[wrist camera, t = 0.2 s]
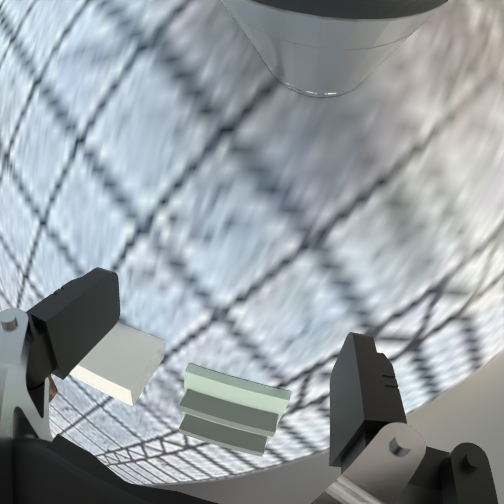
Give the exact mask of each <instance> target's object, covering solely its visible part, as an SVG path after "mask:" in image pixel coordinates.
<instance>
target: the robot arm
mask: <svg viewBox="0 0 504 504" xmlns="http://www.w3.org/2000/svg"><path fill="white" fill-rule="evenodd" d="M447 1H448V0H221V2H222V3H223V4H224V5H225V7H226V8H227V9H228V11H229V12H230V13H231V15H232V16H233V17H234V19H235V20H236V21H237V23H238V24H239V25H240V27H241V28H242V30H243V31H244V32H245V34H246V35H247V37H248V38H249V40H250V41H251V42H252V44H253V45H254V47H255V48H256V50H257V51H258V53H259V54H260V56H261V57H262V59H263V60H264V62H265V63H266V65H267V66H268V68H269V70H270V71H271V72H272V73H273V75H274V76H275V77H276V78H277V79H278V80H279V81H280V82H281V83H283V84H284V85H285V86H286V87H288V88H290V89H292V90H294V91H296V92H298V93H301V94H304V95H307V96H313V97H334V96H338V95H342V94H345V93H347V92H349V91H351V90H353V89H354V88H356V87H357V86H358V85H360V84H361V83H362V82H363V81H364V80H365V79H366V78H367V77H368V76H369V75H370V74H371V73H372V72H373V71H374V70H375V69H376V68H377V67H378V66H379V65H380V64H381V63H382V62H384V61H385V60H386V59H387V58H388V57H389V56H390V55H391V54H392V53H393V52H394V51H395V50H396V49H397V48H398V47H399V46H400V45H401V44H402V43H403V42H404V41H405V40H406V39H407V38H408V37H409V36H410V35H411V34H413V33H414V32H415V31H416V30H417V29H418V28H419V27H420V26H421V25H422V24H423V23H424V22H425V21H426V20H427V19H428V18H429V17H430V16H431V15H432V14H433V13H435V12H436V11H437V10H438V9H439V8H440V7H441V6H442V5H443V4H444V3H446V2H447ZM119 316H120V300H119V281H118V276H117V274H116V273H114V272H111V271H108V270H105V269H102V268H99V267H97V268H95V269H93V270H92V271H90V272H89V273H87V274H86V275H84V276H83V277H80V278H77V279H74V280H71V281H70V282H68V283H67V284H65V285H64V286H62V287H61V289H58V290H56V291H55V292H54V293H53V294H51V295H49V296H48V297H46V298H45V299H43V300H42V301H41V302H39V303H38V304H36V305H35V306H34V307H32V308H31V309H29V310H28V311H27V312H24V311H23V310H20V309H7V310H4V311H1V312H0V504H218V503H214V502H210V501H207V500H203V499H200V498H196V497H193V496H190V495H187V494H184V493H181V492H177V491H171V490H163V489H157V488H151V487H146V486H140V485H135V484H131V483H128V482H126V481H124V480H123V479H121V478H120V477H119V476H117V475H116V474H115V473H114V472H112V471H111V470H110V469H109V468H108V467H106V466H105V465H104V464H103V463H102V462H100V461H99V460H98V459H97V458H96V457H95V456H94V455H92V454H91V453H89V452H88V451H86V450H84V449H82V448H81V447H79V446H77V445H75V444H74V443H72V442H71V441H69V440H67V439H66V438H64V437H62V436H61V435H59V434H57V436H56V437H55V438H54V439H53V438H52V435H51V432H50V427H49V380H48V376H49V375H50V374H51V373H52V374H54V375H56V376H57V377H59V378H61V379H62V380H64V379H65V377H66V376H67V375H68V374H69V373H70V372H71V371H72V370H73V369H74V368H75V367H76V366H77V365H78V364H79V363H80V361H81V360H82V359H83V358H84V357H85V356H86V355H87V354H88V353H89V352H90V351H91V350H92V349H93V348H94V347H95V346H96V345H97V344H98V343H99V342H100V341H101V340H102V339H103V338H104V336H105V335H106V334H107V333H108V332H109V331H110V330H111V329H112V328H113V327H114V326H115V325H116V324H117V322H118V319H119ZM329 466H334V467H341V476H340V477H339V478H338V479H337V480H336V481H335V482H334V483H333V484H332V485H330V486H329V487H328V488H327V489H326V491H324V492H323V493H322V494H321V495H320V496H319V497H318V498H317V499H316V500H315V501H314V502H312V503H311V504H498V500H497V495H496V490H495V485H494V481H493V477H492V472H491V469H490V465H489V461H488V458H487V456H486V454H485V452H484V451H483V450H482V449H481V448H480V447H479V446H477V445H475V444H473V443H461V444H459V445H458V446H456V447H455V448H454V449H453V450H452V451H451V452H450V453H449V452H445V451H441V450H437V449H434V448H430V447H427V446H426V444H425V441H424V438H423V436H422V435H421V434H420V433H419V432H418V431H417V430H416V429H415V428H414V427H412V426H410V425H408V424H407V421H406V416H405V412H404V408H403V404H402V400H401V396H400V392H399V389H398V384H397V380H396V379H395V373H394V370H393V366H392V364H391V363H390V361H389V360H388V359H387V357H386V356H385V355H384V353H377V351H376V347H375V343H374V339H373V337H372V336H369V335H363V334H358V333H353V332H350V333H349V334H348V335H347V337H346V340H345V342H344V344H343V347H342V349H341V351H340V354H339V356H338V358H337V361H336V363H335V365H334V368H333V370H332V374H331V378H330V462H329Z"/></svg>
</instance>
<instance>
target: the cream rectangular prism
mask: <svg viewBox="0 0 504 504" xmlns="http://www.w3.org/2000/svg"><path fill="white" fill-rule="evenodd" d="M163 357H164V340H163V339H160V338H157V337H154V336H152V335H149V334H146V333H144V332H141V331H139V330H136V329H134V328H131V327H129V326H126V325H124V324H121V323H119V322H117V324H116V325H115V326H114V327H113V328H112V329H111V330H110V331H109V332H108V333H107V334H106V335H105V336H104V338H103V339H102V340H101V341H100V342H99V343H98V344H97V345H96V346H95V347H94V348H93V349H92V350H91V351H90V352H89V353H88V354H87V355H86V356H85V357H84V358H83V359H82V360H81V361H80V363H79V364H78V365H77V366H76V367H75V368H74V369H73V370H72V371H71V372H70V373H69V374H70V375H72V376H74V377H76V378H77V379H79V380H81V381H83V382H85V383H86V384H88V385H90V386H92V387H94V388H96V389H98V390H100V391H102V392H104V393H106V394H108V395H110V396H112V397H114V398H116V399H118V400H120V401H122V402H125V403H127V404H129V405H131V406H133V405H134V404H135V402H136V401H137V399H138V397H139V396H140V394H141V393H142V391H143V389H144V388H145V386H146V385H147V383H148V381H149V380H150V378H151V377H152V375H153V373H154V372H155V370H156V369H157V367H158V365H159V364H160V362H161V361H162V359H163Z"/></svg>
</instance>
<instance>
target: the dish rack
mask: <svg viewBox="0 0 504 504" xmlns="http://www.w3.org/2000/svg"><path fill="white" fill-rule="evenodd" d="M290 393H291V391H286V390H282V389H278V388H274V387H269V386H265V385H261V384H257V383H254V382H250V381H246V380H242V379H239V378H235V377H232V376H228V375H225V374H222V373H218V372H215V371H212V370H209V369H205V368H202V367H199V366H196V365H193V364H190V363H189V365H188V367H187V369H186V371H185V381H184V397H183V399H182V401H181V403H180V411H183V416H182V423H181V425H180V427H179V433H181V434H184V435H187V436H190V437H193V438H196V439H199V440H202V441H205V442H209V443H212V444H215V445H219V446H222V447H226V448H229V449H233V450H237V451H241V452H245V453H249V454H253V455H257V456H262V455H263V454H264V450H265V447H266V445H267V443H268V441H269V439H270V437H273V436H274V434H275V431H276V426H277V424H278V422H279V420H280V418H281V416H282V414H283V412H284V410H285V408H286V406H287V404H288V402H289V400H290Z"/></svg>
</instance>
